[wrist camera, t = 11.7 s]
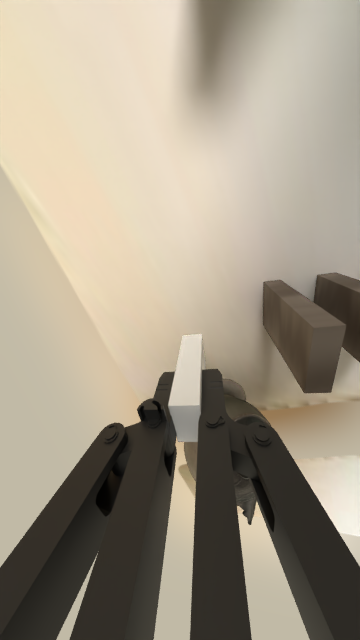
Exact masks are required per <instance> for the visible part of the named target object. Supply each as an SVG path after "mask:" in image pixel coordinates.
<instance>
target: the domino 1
mask: <svg viewBox="0 0 360 640" xmlns="http://www.w3.org/2000/svg"><path fill="white" fill-rule="evenodd" d="M263 325H264V327H265V329H266V330H267V332H268V334H269V335H270V337H271V339H272V340H273V342H274V344H275V345H276V347H277V349H278V350H279V352H280V354H281V355H282V357H283V359H284V360H285V362H286V364H287V365H288V367H289V369H290V370H291V372H292V374H293V375H294V377H295V379H296V380H297V382H298V384H299V385H300V387H301V389H302V390H303V392H304V393H331V391H332V386H333V382H334V378H335V373H336V369H337V364H338V360H339V356H340V351H341V347H342V343H343V338H344V334H345V330H346V324H344V323H343V322H341V321H340V320H338V319H337V318H335V317H334V316H332V315H331V314H329V313H328V312H327V311H325V310H324V309H322V308H321V307H319V306H318V305H316V304H315V303H313V302H312V301H311V300H309V299H308V298H306V297H305V296H303V295H302V294H300V293H299V292H297V291H296V290H294V289H293V288H292V287H290V286H289V285H287V284H286V283H284V282H283V281H281V280H275V281H268V282H264V298H263Z"/></svg>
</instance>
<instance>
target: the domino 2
mask: <svg viewBox="0 0 360 640" xmlns="http://www.w3.org/2000/svg"><path fill="white" fill-rule="evenodd" d="M314 303H315V304H316V305H318V306H319V307H321V308H322V309H324V310H325V311H327V312H328V313H329V314H331V315H332V316H334V317H335V318H337V319H338V320H340V321H341V322H343V323H344V324H346V330H345V334H344V338H343V343H342V347H343V348H344V349H345V350H346V351H347V352H348V353H350V354H351V355H352V356H353V357H354V358H355V359H357V360H358V361H359V362H360V281H359V280H356V279H353V278H350V277H347V276H344V275H341V274H338V273H329V274H321V275H317V282H316V289H315V296H314Z"/></svg>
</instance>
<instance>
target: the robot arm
mask: <svg viewBox="0 0 360 640" xmlns="http://www.w3.org/2000/svg"><path fill="white" fill-rule="evenodd" d="M137 411H138V414H139V416H140V419H141V422H139V423H137V424H134V425H131V426H128V427H125V428H124V426H123V425H122V424H120V423H113V424H110V425H108V426H107V427H105V428H104V429H103V430H102V431H101V432H100V434H99V435H98V436H97V438H96V439H95V440H94V442H93V443H92V444H91V446H90V447H89V449H88V450H87V451H86V453H85V454H84V455H83V457H82V458H81V459H80V461H79V462H78V463H77V465H76V466H75V467H74V469H73V470H72V471H71V473H70V474H69V476H68V477H67V478H66V480H65V481H64V482H63V484H62V485H61V486H60V488H59V489H58V490H57V492H56V493H55V494H54V496H53V497H52V499H51V500H50V501H49V503H48V504H47V505H46V507H45V508H44V509H43V511H42V512H41V513H40V515H39V516H38V517H37V519H36V520H35V521H34V523H33V524H32V526H31V527H30V528H29V530H28V531H27V532H26V534H25V535H24V536H23V538H22V539H21V540H20V542H19V543H18V544H17V546H16V547H15V549H14V550H13V551H12V553H11V554H10V555H9V557H8V558H7V559H6V561H5V562H4V563H3V565H2V566H1V567H0V640H56V639H57V636H58V634H59V632H60V630H61V628H62V626H63V624H64V621H65V620H66V618H67V616H68V613H69V612H70V609H71V607H72V605H73V603H74V601H75V599H76V597H77V594H78V593H79V591H80V589H81V586H82V585H83V582H84V580H85V578H86V576H87V574H88V572H89V570H90V568H91V566H92V564H93V562H94V560H95V557H96V555H97V553H98V555H97V558H96V561H95V564H94V567H93V570H92V573H91V576H90V579H89V582H88V585H87V588H86V591H85V594H84V598H83V600H82V604H81V606H80V610H79V613H78V616H77V619H76V622H75V625H74V628H73V631H72V634H71V637H70V640H153V639H154V631H155V623H156V614H157V607H158V599H159V591H160V582H161V575H162V567H163V558H164V550H165V542H166V535H167V526H168V518H169V510H170V502H171V494H172V486H173V478H174V470H175V462H176V454H177V453H176V446H175V443H176V436H177V440H178V442H198V446H197V472H196V498H195V525H194V551H193V577H192V578H193V579H192V603H191V605H192V606H191V631H190V640H252V639H251V630H250V622H249V612H248V603H247V594H246V586H245V576H244V567H243V558H242V550H241V540H240V531H239V523H238V513H237V504H236V495H235V486H234V477H233V471H235V472H238V473H240V474H242V475H245V476H247V477H248V478H249V481H250V484H251V486H252V489H253V492H254V494H255V497H256V499H257V502H258V505H259V507H260V510H261V513H262V515H263V518H264V520H265V523H266V526H267V528H268V531H269V533H270V536H271V539H272V541H273V544H274V547H275V549H276V552H277V555H278V557H279V560H280V563H281V565H282V568H283V570H284V573H285V576H286V578H287V581H288V584H289V586H290V589H291V591H292V594H293V596H294V599H295V602H296V605H297V607H298V609H299V612H300V615H301V618H302V620H303V623H304V625H305V628H306V631H307V633H308V636H309V638H310V640H360V566H359V565H358V563H357V562H356V560H355V558H354V557H353V555H352V554H351V552H350V551H349V549H348V547H347V546H346V544H345V542H344V541H343V539H342V537H341V536H340V534H339V532H338V531H337V529H336V528H335V526H334V524H333V523H332V521H331V519H330V518H329V516H328V515H327V513H326V511H325V510H324V508H323V506H322V505H321V503H320V502H319V500H318V498H317V497H316V495H315V494H314V492H313V490H312V489H311V487H310V485H309V484H308V482H307V481H306V479H305V477H304V476H303V474H302V472H301V471H300V469H299V468H298V466H297V464H296V463H295V461H294V459H293V458H292V456H291V455H290V453H289V451H288V450H287V448H286V446H285V445H284V443H283V442H282V440H281V439H280V437H279V435H278V434H277V432H276V431H275V430H274V429H273V428H272V427H271V426H269V425H268V424H265V423H262V422H253V423H251V424H249V425H248V426H246V425H243V424H240V423H237V422H235V421H234V420H232V419H231V418H230V417H229V416H228V414H227V412H226V407H225V398H224V390H223V381H222V374H221V373H220V371H219V370H218V369H208V370H206V360H205V353H204V346H203V339H202V334H193V335H183V337H182V342H181V346H180V351H179V356H178V361H177V365H176V370H175V372H164V373H163V375H162V376H161V377H160V378H159V382H158V386H157V388H156V392H155V395H154V398H153V399H148V400H146V401H144V402H143V403H142V404H141V405H140V406H139V407H138V409H137ZM98 551H99V552H98Z"/></svg>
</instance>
